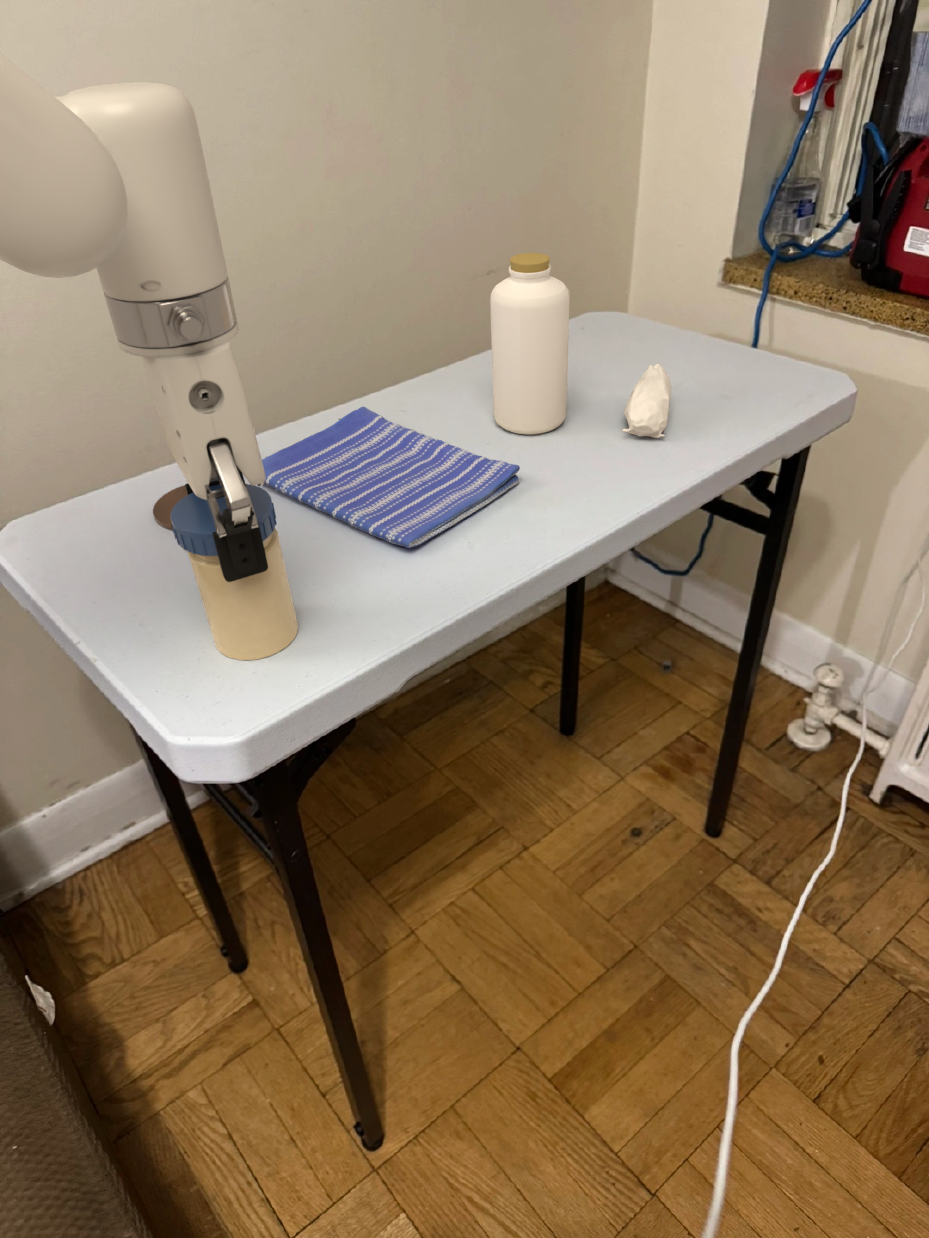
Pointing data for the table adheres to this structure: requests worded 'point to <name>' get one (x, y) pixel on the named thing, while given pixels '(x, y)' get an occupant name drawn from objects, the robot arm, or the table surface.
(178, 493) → the coaster
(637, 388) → the bird figurine
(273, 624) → the jar
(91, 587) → the table surface
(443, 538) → the table surface
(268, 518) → the lid
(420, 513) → the dish towel
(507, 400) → the potion bottle
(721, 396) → the table surface
